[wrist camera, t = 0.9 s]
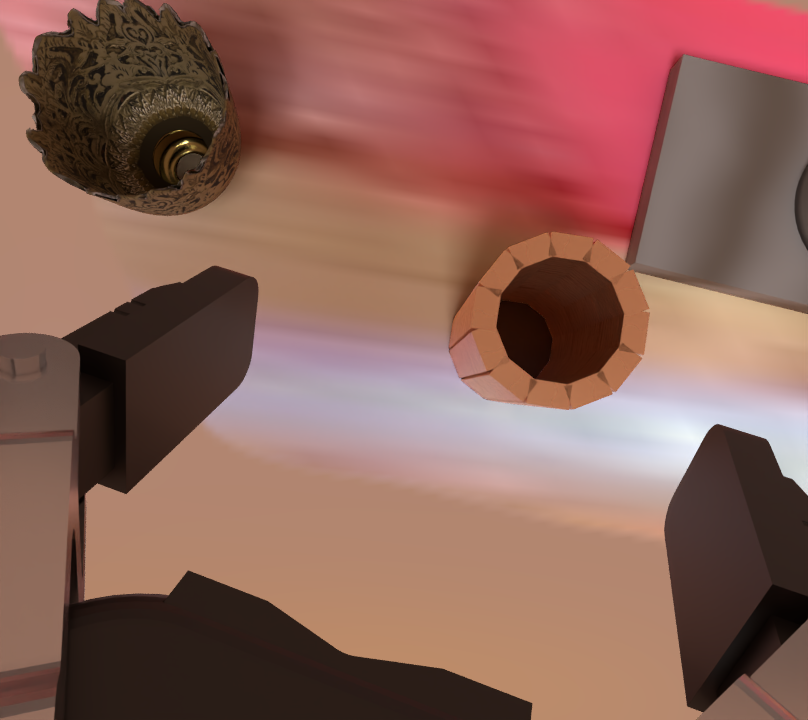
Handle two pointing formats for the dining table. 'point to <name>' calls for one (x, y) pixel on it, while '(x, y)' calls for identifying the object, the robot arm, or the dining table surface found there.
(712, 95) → the shaft stand
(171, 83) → the bronze rounded piece
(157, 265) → the dining table surface
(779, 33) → the dining table surface
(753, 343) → the dining table surface
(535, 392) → the copper collar
